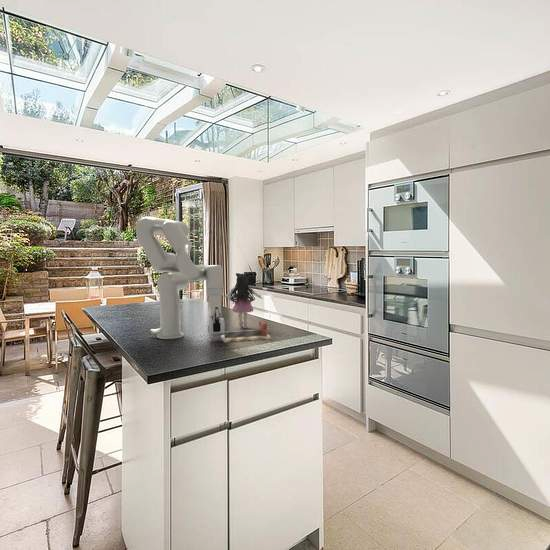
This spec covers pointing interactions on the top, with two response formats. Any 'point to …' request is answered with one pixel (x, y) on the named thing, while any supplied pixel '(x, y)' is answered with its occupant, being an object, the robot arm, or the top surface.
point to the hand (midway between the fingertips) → (216, 330)
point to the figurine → (242, 297)
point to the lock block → (210, 325)
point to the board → (247, 334)
